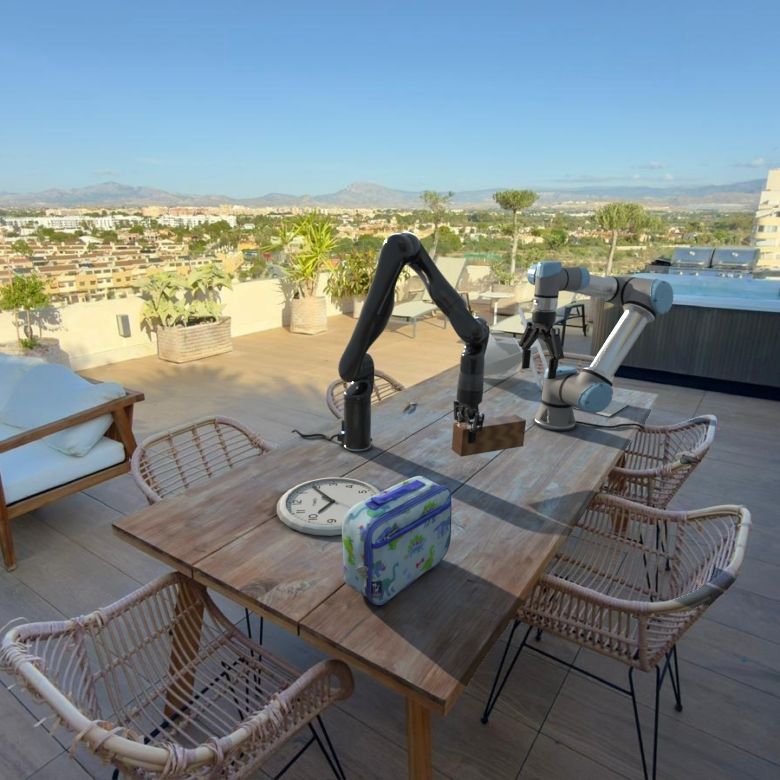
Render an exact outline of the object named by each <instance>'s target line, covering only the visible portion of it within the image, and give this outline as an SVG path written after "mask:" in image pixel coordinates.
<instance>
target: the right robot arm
mask: <svg viewBox="0 0 780 780" xmlns="http://www.w3.org/2000/svg"><path fill="white" fill-rule="evenodd" d="M562 264H563V263H562V262H561V261H557V260H555V261H554V260H542V261H539V262H538V263H534V264H532V265H531V266H530V267H529V268H528V270H527V274H526V280H527V281H528V283H529V284H530V285H531V286H534V293H533V303H532V304H533V305H532V309H533V310H532V311H531V312H532V313H531V314H532V315H531V321H526V322H527V325H526V329H524V332H523V334H522V336H521V338H520V340H519V342H518V344H519V347H522V350H523V352H522V361H521V369H522V370H527V369H530V367H531V366H530V356H531V355H532V354H531V350H528V349H531V348H530V347H531V346H532V345H533V343H534V342H535V341H536V340H537V339H540V340H542V341H543V343H545V346H546V348H547V351H548V353H549V356H550V358H549V360H548V368H547V369H546V370H545V369H544V375H543V381H542V390H541V391H542V392H541V402H540V405H539V407H538V410H537V411H536V413H535V416H534V424H535V425H536V426H537V427H539V428H542V429H544V430H549V431H556V432H567V431H572V430H574V429H575V428H576V424H578V425H584V426H591V427H596V428H604V429H614V428H618V427H630V426H631V427H632V426H633V427H634V426H635V427H639V428H640V429H641V430H645V429H646V428H645V427H644V426H643V425H641V424H639V423H619V424H615V425H614V424H613V425H602V424H596V423H590V422H584V421H579V420H578V421H577V420H576V418H575V417H576V416H575V413H574V407H576V408H578V409H577V410H580V411H581V412H586V413H589V414H596V413H597V412H601V411H603V410H604V409H605V408H606V407H607V406H608V405H609V404H610V402H611V401H613V395H614V390H613V388H612V387H613V386H614V382H613V377H614V375H615V374H616V372H617V371H618V369H619V367H620V366H621V365H622V363H623V361H624V360H625V359H626V356H627V355H628V354H629V352H630V350H631V348H632V347H633V346H634V345H635V343H636V342H637V339H638V338H639V336H640V334H641V333H642V332H643V330H644V329H645V327H646V326H647V324H648V323H653V322H654V321H655V319H656V318H657V317H658V315H665V314H666V313H668V312H669V311H670V310H671V308H672V306H673V302H674V289H673V286H672V285H671V284H670V282H668V281H666V280H662V279H658V278H655V279H654V278H644V277H637V276H614V275H604V276H600V275H595V274H591V272H590V271H589V269H587V268H586V267H582V266H581V267H580V266H565V265H562ZM560 292H569V293H574V294H579V295H583V296H589V297H595V298H597V300H598V301H601V302H605V303H608V304H612V305H615V306H618V307H621V308H622V309H623V313H622V315H621V317H619V320H618V321H617V323H616V324H615V326H614V328H613V329H612V331H611V333H610V334H609V335H608V337H607V338H606V340H605V342H604V343H603V345H602V347H601V348H600V350H599V351H598V353H597V354H596V356H595V357H594V359H593V360H592V362H591V364H590V365H589V366H587V367H583V368H582V370H581V371H580V373H579V374H578V369H577V367H574V366H566V365H565V366H564V365H559V360H564V359H565V354H564V349H563V344H562V340H561V335H560V334H561V328H560V327H554V324H555V323H556V321H557V320H556V319H557V312H556V311H557V310H558V305H559V295H560ZM576 408H575V409H576Z"/></svg>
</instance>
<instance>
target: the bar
mask: <svg viewBox="0 0 780 780" xmlns="http://www.w3.org/2000/svg"><path fill="white" fill-rule="evenodd" d="M472 421H474V420H472ZM452 426H453V428H452V441H451V451H453V452H454V453H455V454H457V455H458V456H459V457H461V458H462V457H468V456H473V455H480V454H487V453H491V452H497V451H503V450H509V449H515V448H520V447H524V442H525V434H526V433H525V432H526V426H527V420H526V419H524V418H523V417H522V416H519V415H517V414H509V415H503V416H496V417H495V416H494V417H489V418H484V422H483V426H482V431H481V432H476V441H475V443H472V444H469V443H468V434H469V427H468V424H467V423H466V422H459V423H457V422H453V425H452ZM478 427H479V426H478ZM472 428H473V424H472Z"/></svg>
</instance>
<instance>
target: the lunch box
mask: <svg viewBox="0 0 780 780" xmlns="http://www.w3.org/2000/svg"><path fill="white" fill-rule="evenodd" d="M452 511H453V510H452V491H451V489H450V487H449V486H447V485H444V484H442V485H440V484H437V483H436V482H434V481H432V480H430V479H428V478H427V477H425V476H422V475H416V476H413V477H411V478H408V479H406V480H403V481H401V482H399V483H397V484H395V485H393V486H390V487H388V488H386V489H384V490H382V491H381V492H380V493H378V494H376V495H374V496H372V497H370V498H368V499H366V500H364V501H362V502H360V503H358V504H356V505H354V506H353V507H352V508H351V509H350V510H349V511H348V512H347V514H346V516H345V518H344V521H343V525H342V535H341V543H342V544H341V545H342V569H343V578H344V583H345V585H346V586H347V587H349V588H351V589H352V590H354V591H356V592H357V593H360V594H361V595H362V596H363V597H365V598H367V601H369V603H372V604H373V605H376V606H383V605H385V604H386V603H388V602H389V601H390V600H391V599H392V598H394V597H395V596H396V595H397V594H399V593H400V592H401V591H403V590H404V589H406V588H407V587H408V586H410V585H411V584H413V583H414V582H416V580H417V579H418V578H420V576H422V575H423V574H425V573H426V572H428V571H430V570H432V569H433V568H435V567H436V566H438V565H439V564H440V563H441V562H442V561H443V560H444V558H445V557H446V555H447V552H448V551H449V548H450V544H451V539H452V515H453V514H452Z"/></svg>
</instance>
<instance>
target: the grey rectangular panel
mask: <svg viewBox="0 0 780 780" xmlns="http://www.w3.org/2000/svg"><path fill="white" fill-rule="evenodd" d="M628 406H629V404H627V403H623V402H618V401H614V400H611V402H610V404H609V405H608V406H607V407H606V408H605V409H604V410H603V411H601V412H597V413H595V414H596V415H600V416H604V417H608V418H609V417H611V416H613V415H614V414H616V413H617V412H619V411H621V410H623V409H624V408H626V407H628ZM573 409H575V410H579V409H578V408H576V407H573Z"/></svg>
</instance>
